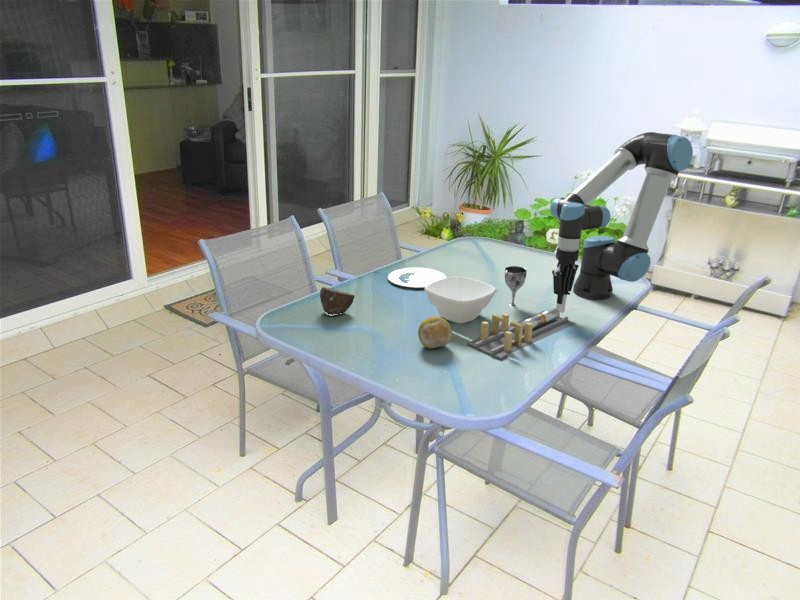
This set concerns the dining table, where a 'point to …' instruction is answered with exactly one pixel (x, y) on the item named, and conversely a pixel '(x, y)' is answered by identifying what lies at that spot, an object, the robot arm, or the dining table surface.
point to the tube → (542, 319)
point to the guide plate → (504, 339)
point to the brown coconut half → (335, 300)
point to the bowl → (459, 297)
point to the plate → (416, 277)
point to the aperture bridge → (517, 326)
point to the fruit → (434, 332)
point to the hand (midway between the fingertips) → (560, 311)
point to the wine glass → (515, 279)
